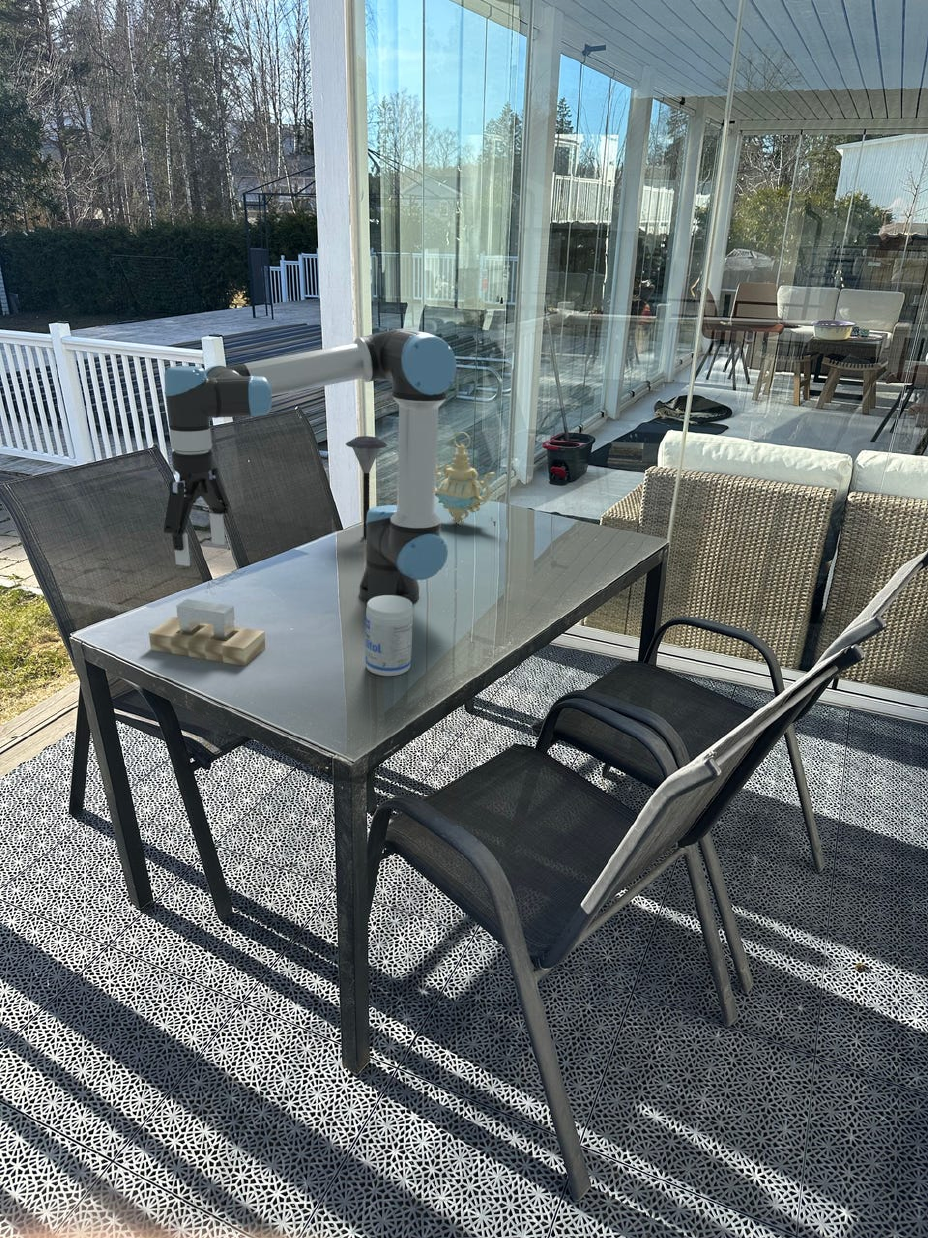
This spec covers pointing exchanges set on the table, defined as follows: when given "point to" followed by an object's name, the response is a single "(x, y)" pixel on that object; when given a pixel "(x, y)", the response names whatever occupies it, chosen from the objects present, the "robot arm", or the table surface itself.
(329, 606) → the table surface
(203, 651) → the wooden block with holes
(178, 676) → the table surface
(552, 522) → the table surface
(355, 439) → the solar garden light
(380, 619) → the supplement tub
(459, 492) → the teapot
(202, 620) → the grey u-shaped block
